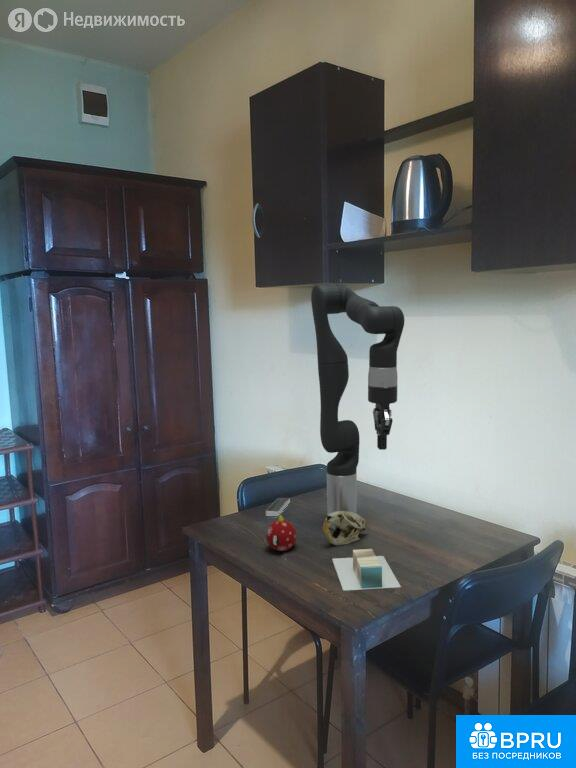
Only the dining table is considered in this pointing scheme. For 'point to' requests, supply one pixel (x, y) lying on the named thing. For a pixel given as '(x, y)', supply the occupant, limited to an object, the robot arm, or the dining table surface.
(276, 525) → the christmas ornament
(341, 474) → the robot arm
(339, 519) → the skull
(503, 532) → the dining table surface
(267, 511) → the multiport hub
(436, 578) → the dining table surface
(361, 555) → the tall block
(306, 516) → the dining table surface
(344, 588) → the mat
